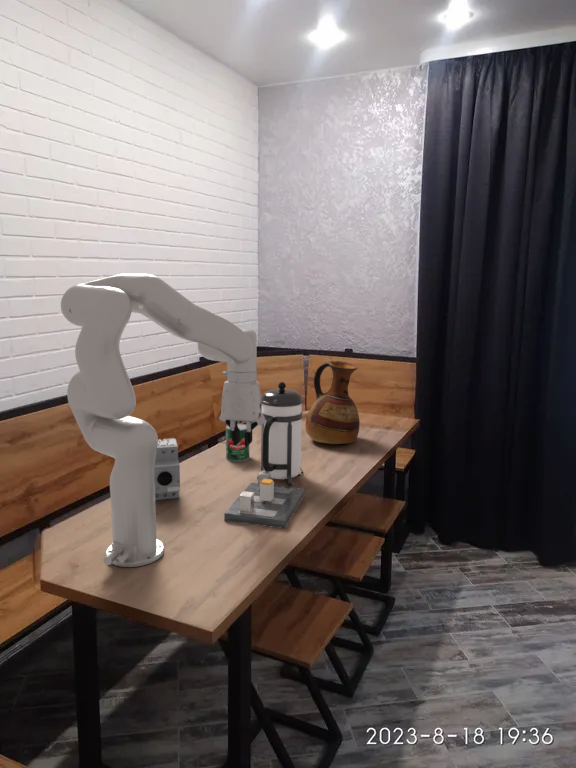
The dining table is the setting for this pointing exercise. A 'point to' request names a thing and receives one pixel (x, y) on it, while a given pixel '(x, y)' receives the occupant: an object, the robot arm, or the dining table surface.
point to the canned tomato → (239, 450)
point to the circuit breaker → (167, 470)
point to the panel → (265, 505)
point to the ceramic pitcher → (333, 408)
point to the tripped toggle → (266, 490)
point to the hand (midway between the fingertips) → (242, 443)
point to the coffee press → (281, 433)
